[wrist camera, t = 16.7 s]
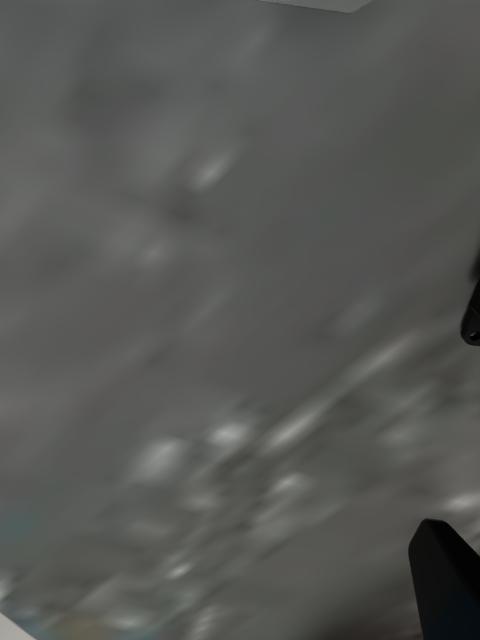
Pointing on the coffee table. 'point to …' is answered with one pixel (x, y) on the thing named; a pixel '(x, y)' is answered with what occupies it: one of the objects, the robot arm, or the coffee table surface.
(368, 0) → the wall
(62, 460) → the coffee table surface
